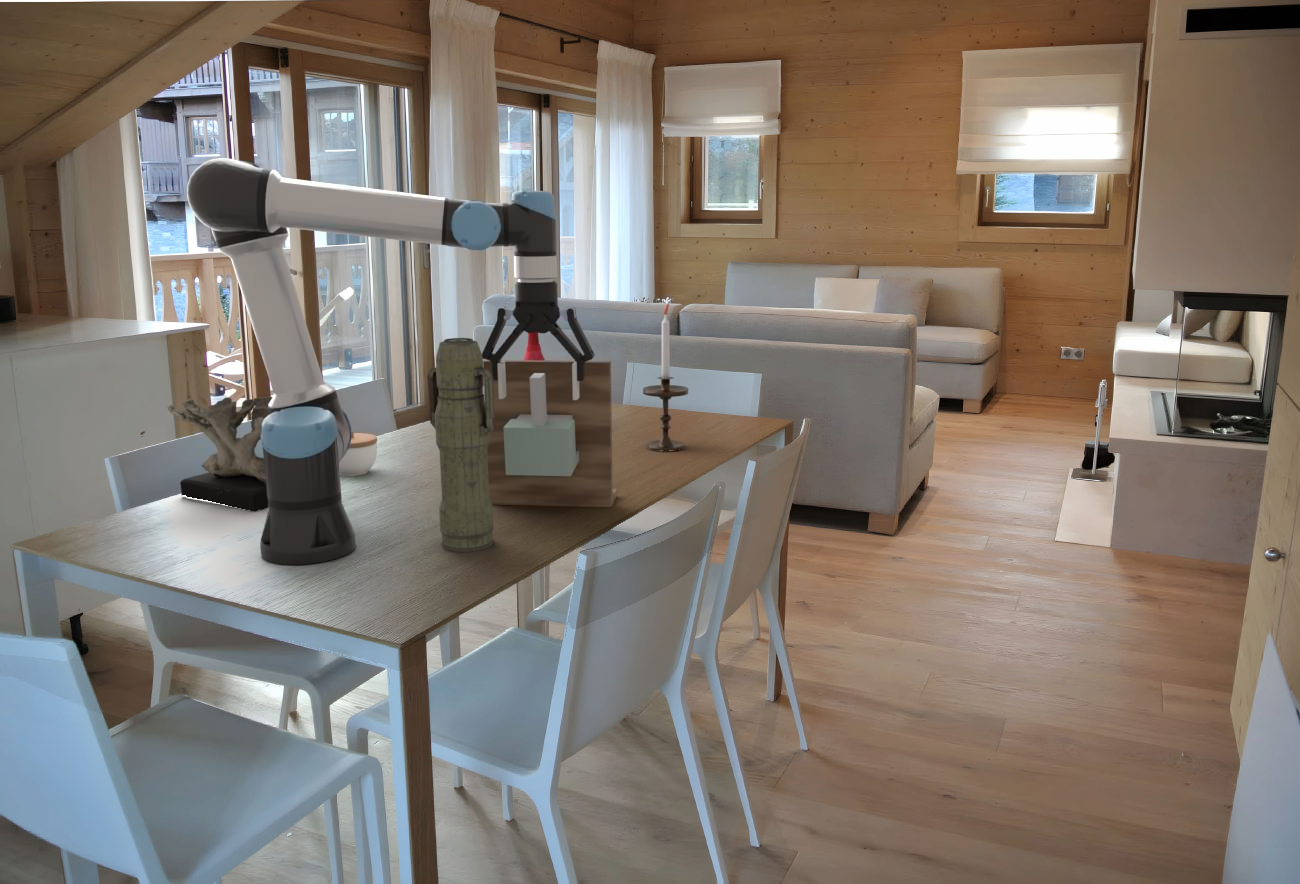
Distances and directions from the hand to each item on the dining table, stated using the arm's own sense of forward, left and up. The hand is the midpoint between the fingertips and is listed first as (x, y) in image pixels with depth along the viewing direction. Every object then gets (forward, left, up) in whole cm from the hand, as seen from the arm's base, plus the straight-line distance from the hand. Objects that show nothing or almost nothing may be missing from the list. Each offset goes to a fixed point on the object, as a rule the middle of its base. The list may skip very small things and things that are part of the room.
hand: (539, 398), depth 184 cm
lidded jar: (+29, +48, -22) cm, 60 cm away
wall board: (+9, 0, -22) cm, 24 cm away
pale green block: (+2, 0, -13) cm, 14 cm away
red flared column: (+83, +19, -22) cm, 88 cm away
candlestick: (+59, -18, -22) cm, 65 cm away
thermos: (-17, +9, -22) cm, 30 cm away
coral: (+5, +62, -22) cm, 66 cm away
